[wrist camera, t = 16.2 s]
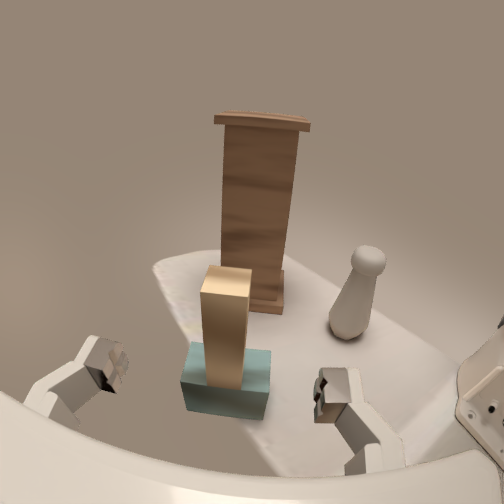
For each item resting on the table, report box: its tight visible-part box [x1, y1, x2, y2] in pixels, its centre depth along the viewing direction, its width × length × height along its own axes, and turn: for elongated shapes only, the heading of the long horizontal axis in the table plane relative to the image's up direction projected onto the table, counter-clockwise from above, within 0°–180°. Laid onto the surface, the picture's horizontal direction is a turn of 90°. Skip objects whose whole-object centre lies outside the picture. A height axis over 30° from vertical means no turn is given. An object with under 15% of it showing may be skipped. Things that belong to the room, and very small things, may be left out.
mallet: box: [180, 265, 271, 420], centre depth 24 cm, size 17×8×5 cm
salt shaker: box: [329, 245, 386, 340], centre depth 35 cm, size 6×6×13 cm
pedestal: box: [214, 110, 311, 315], centre depth 38 cm, size 9×10×26 cm
